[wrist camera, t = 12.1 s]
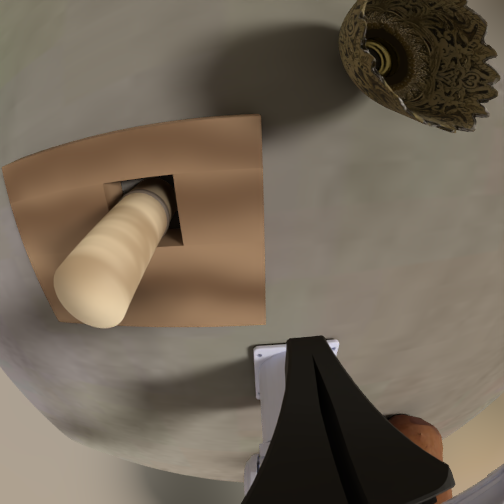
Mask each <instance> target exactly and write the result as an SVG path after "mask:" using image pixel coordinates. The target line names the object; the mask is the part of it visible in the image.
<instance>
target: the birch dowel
mask: <svg viewBox="0 0 504 504" xmlns="http://www.w3.org/2000/svg"><path fill="white" fill-rule="evenodd" d="M176 209H177V200H176V193H175V190H174V188H173V187H172V186H171V185H170V184H169V183H168V182H166V181H165V180H162V179H159V178H148V179H145V180H143V181H141V182H140V183H139V184H138V185H137V186H136V187H134V188H133V189H132V190H131V191H130V192H128V193H126V194H125V195H124V196H123V197H122V198H121V199H120V200H119V201H118V203H117V204H116V205H115V206H114V207H113V208H112V209H111V210H110V211H109V212H108V213H107V214H106V215H105V216H104V217H103V218H102V219H101V221H100V222H99V223H98V224H97V225H96V226H95V227H94V228H93V229H92V230H91V231H90V232H89V233H88V234H87V235H86V236H85V237H84V239H83V240H82V241H81V242H80V243H79V244H78V245H77V246H76V247H75V249H74V250H73V251H72V252H71V253H70V254H69V255H68V257H67V258H66V259H65V260H64V261H63V262H62V264H61V265H60V266H59V267H58V268H57V270H56V272H55V274H54V288H55V292H56V295H57V297H58V299H59V301H60V302H61V304H62V305H63V306H64V308H65V309H66V310H67V311H68V312H69V313H70V314H71V315H72V316H74V317H75V318H76V319H78V320H79V321H81V322H83V323H85V324H87V325H90V326H93V327H97V328H111V327H114V326H116V325H118V324H119V323H120V322H121V321H122V320H123V318H124V316H125V314H126V311H127V309H128V307H129V305H130V302H131V300H132V298H133V296H134V293H135V291H136V289H137V287H138V285H139V283H140V280H141V278H142V276H143V274H144V272H145V270H146V268H147V266H148V264H149V262H150V260H151V258H152V256H153V254H154V252H155V250H156V248H157V246H158V244H159V242H160V240H161V238H162V237H163V236H164V235H165V233H166V231H167V229H168V227H169V223H170V221H171V219H172V217H173V215H174V213H175V212H176Z"/></svg>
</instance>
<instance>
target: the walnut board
mask: <svg viewBox="0 0 504 504" xmlns="http://www.w3.org/2000/svg"><path fill="white" fill-rule="evenodd" d="M2 171H3V176H4V180H5V184H6V189H7V193H8V196H9V200H10V204H11V207H12V211H13V214H14V217H15V220H16V224H17V227H18V230H19V233H20V235H21V238H22V241H23V244H24V246H25V249H26V252H27V254H28V257H29V259H30V262H31V264H32V267H33V269H34V271H35V274H36V276H37V278H38V281H39V283H40V285H41V287H42V289H43V291H44V293H45V295H46V298H47V300H48V302H49V304H50V306H51V307H52V309H53V311H54V313H55V315H56V317H57V319H58V321H59V322H69V323H81V324H85V323H83V322H81V321H79V320H78V319H76V318H75V317H74V316H72V315H71V314H70V313H69V312H68V311H67V310H66V309H65V308H64V306H63V305H62V304H61V302H60V301H59V299H58V297H57V295H56V292H55V288H54V274H55V272H56V270H57V268H58V267H59V266H60V265H61V264H62V262H63V261H64V260H65V259H66V258H67V257H68V255H69V254H70V253H71V252H72V251H73V250H74V249H75V247H76V246H77V245H78V244H79V243H80V242H81V241H82V240H83V239H84V237H85V236H86V235H87V234H88V233H89V232H90V231H91V230H92V229H93V228H94V227H95V226H96V225H97V224H98V223H99V222H100V221H101V219H102V218H103V217H104V216H105V215H106V214H107V213H108V212H109V211H110V210H111V209H112V208H113V207H114V206H115V205H116V204H117V203H118V201H119V200H120V199H121V198H122V197H123V192H122V187H121V181H123V180H130V179H138V178H145V177H153V176H162V175H171V174H173V178H174V186H175V193H176V200H177V207H178V213H179V220H180V226H181V228H177V229H167V231H166V233H165V235H164V236H163V237H162V238H161V240H160V242H159V244H158V246H157V248H156V250H155V252H154V254H153V256H152V258H151V260H150V262H149V264H148V266H147V268H146V270H145V272H144V274H143V276H142V278H141V280H140V283H139V285H138V287H137V289H136V291H135V293H134V296H133V298H132V300H131V302H130V305H129V307H128V309H127V311H126V314H125V316H124V318H123V320H122V321H121V322H120V323H119V324H118V325H116V326H142V327H218V326H246V325H266V309H265V246H264V201H263V164H262V132H261V116H260V115H259V114H244V115H227V116H214V117H203V118H193V119H184V120H176V121H169V122H162V123H156V124H150V125H144V126H138V127H133V128H128V129H123V130H118V131H113V132H108V133H104V134H100V135H96V136H92V137H88V138H84V139H80V140H76V141H73V142H69V143H66V144H62V145H59V146H56V147H52V148H49V149H46V150H43V151H40V152H37V153H34V154H31V155H28V156H26V157H23V158H20V159H18V160H16V161H14V162H12V163H10V164H7V165H5V166H3V167H2Z"/></svg>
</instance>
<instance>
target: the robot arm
mask: <svg viewBox="0 0 504 504" xmlns="http://www.w3.org/2000/svg"><path fill="white" fill-rule="evenodd" d="M338 347H339V342H338V340H336V339H333V340H326V339H325V337H324V336H312V337H302V338H290V339H289V340H287V344H281V345H266V346H256V347H255V348H254V350H253V351H254V369H255V386H256V398H257V399H259V400H260V401H261V418H262V434H263V443H262V444H259V449H260V454H253V455H252V456H251V458H250V459H249V460H248V461H247V462H246V465H245V471H244V489H245V498H244V499H243V501H242V503H241V504H434V503H436V502H437V498H436V496H437V495H439V494H441V493H443V492H445V491H447V490H449V489H451V488H453V487H454V486H455V481H454V478H453V475H452V472H451V470H450V468H449V465H447V464H446V463H444V462H442V461H441V460H439V459H437V458H436V457H434V456H433V455H431V454H429V453H428V452H426V451H425V450H423V449H422V448H421V447H419V446H418V445H416V444H415V443H414V442H413V441H411V440H410V439H409V438H408V437H406V436H405V435H404V434H403V433H402V432H400V431H399V430H398V429H397V428H396V427H394V426H393V425H392V424H391V423H390V422H389V421H388V420H387V419H386V418H385V417H384V416H383V415H382V414H381V413H380V412H379V411H378V410H377V409H376V408H375V407H374V405H373V404H372V403H371V402H370V401H369V400H368V399H367V397H366V396H365V395H364V394H363V393H362V391H361V390H360V389H359V388H358V386H357V385H356V384H355V383H354V381H353V380H352V378H351V377H350V376H349V374H348V373H347V372H346V370H345V369H344V367H343V366H342V365H341V363H340V362H339V360H338V359H337V357H336V354H337V351H338ZM441 504H504V464H503V465H501V466H500V467H498V468H497V469H495V470H494V471H493V472H491V473H490V474H488V475H487V477H486V478H484V479H483V480H481V481H480V482H478V483H477V484H475V485H473V486H472V487H470V488H468V489H467V490H465V491H463V492H462V493H460V494H458V495H456V496H454V497H453V498H451V499H449V500H447V501H445V502H443V503H441Z"/></svg>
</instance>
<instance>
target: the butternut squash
mask: <svg viewBox="0 0 504 504" xmlns="http://www.w3.org/2000/svg"><path fill="white" fill-rule="evenodd" d="M388 421H389V422H390V423H391V424H392V425H393V426H394V427H396V428H397V429H398V430H399V431H400V432H402V433H403V434H404V435H405V436H406V437H408V438H409V439H410V440H411V441H413V442H414V443H415V444H416V445H418V446H419V447H421V448H422V449H423V450H425V451H426V452H428V453H429V454H431V455H433V456H434V457H436V458H437V459H439V460H441V461H442V462H443V457H442V452H443V446H442V439H441V435H440V433H439V431H438V430H437V428H435V427H434V426H433V425H431V424H430V423H428V422H426V421H425V420H423V419H421V418H418V417H413V416H408V415H404V414H402V415H395V416H393V417H392V418H390V419H389V420H388ZM436 498H437V502H436V503H434V504H441V503H443V502H445V501H447V500H449V499H451V498H452V490H451V489H449V490H447V491H445V492H443V493H441V494H439V495H437V496H436Z"/></svg>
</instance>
